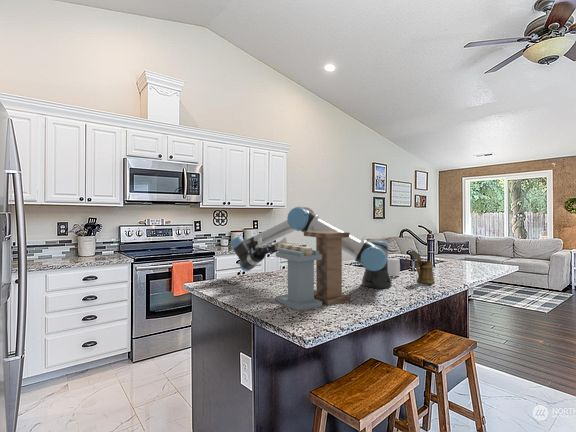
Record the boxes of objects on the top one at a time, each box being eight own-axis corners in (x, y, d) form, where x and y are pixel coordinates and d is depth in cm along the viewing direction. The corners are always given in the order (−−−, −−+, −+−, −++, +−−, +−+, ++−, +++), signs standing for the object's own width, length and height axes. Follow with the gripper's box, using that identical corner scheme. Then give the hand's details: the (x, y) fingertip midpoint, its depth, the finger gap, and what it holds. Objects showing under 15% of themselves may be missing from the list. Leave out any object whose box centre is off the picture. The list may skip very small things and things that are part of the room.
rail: (274, 249, 157) (274, 242, 157) (280, 249, 159) (280, 242, 159) (305, 256, 135) (305, 248, 135) (312, 255, 137) (312, 247, 136)
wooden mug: (406, 281, 186) (406, 249, 186) (426, 279, 190) (426, 248, 190) (417, 284, 177) (417, 251, 177) (438, 283, 182) (438, 250, 181)
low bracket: (275, 300, 148) (275, 248, 148) (298, 296, 154) (298, 247, 154) (297, 310, 132) (297, 252, 132) (322, 306, 139) (321, 250, 138)
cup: (402, 276, 200) (402, 259, 200) (384, 277, 197) (384, 260, 197) (394, 274, 208) (394, 257, 208) (377, 275, 205) (377, 258, 205)
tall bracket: (304, 296, 156) (303, 231, 155) (324, 292, 162) (324, 230, 161) (327, 305, 140) (327, 233, 140) (349, 301, 146) (349, 232, 146)
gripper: (277, 261, 184) (296, 246, 168) (235, 263, 171) (251, 246, 156) (275, 249, 187) (293, 233, 171) (233, 249, 175) (249, 232, 159)
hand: (273, 239), depth 163 cm, fingers open, 13 cm apart
